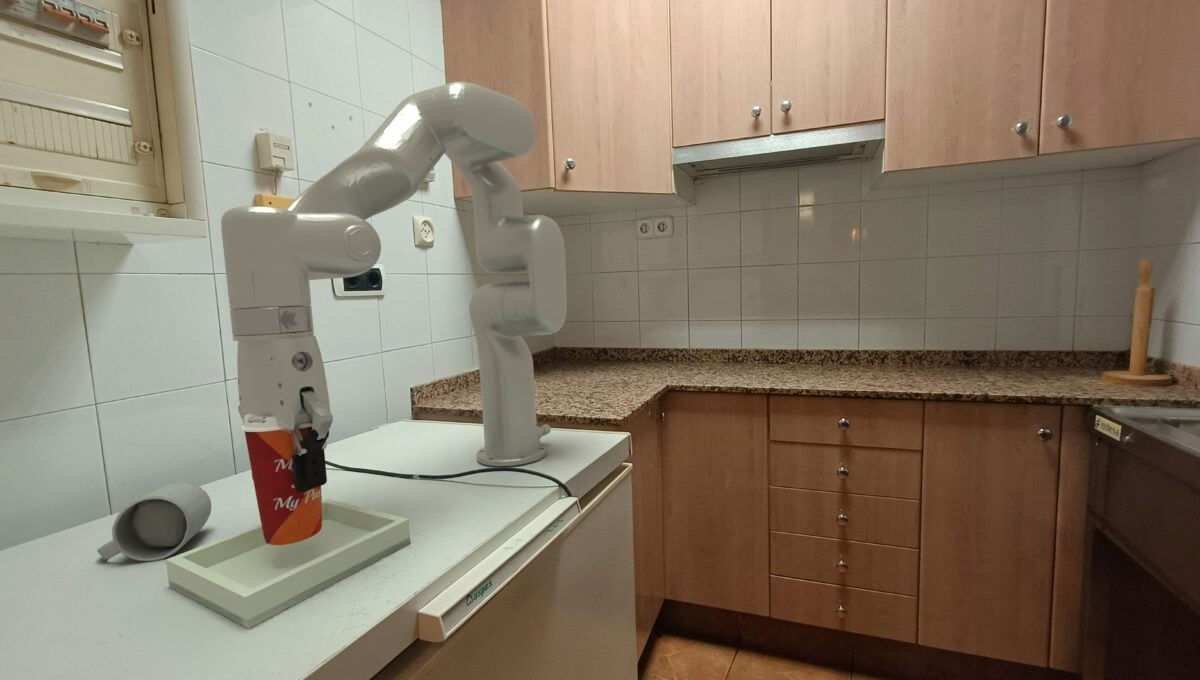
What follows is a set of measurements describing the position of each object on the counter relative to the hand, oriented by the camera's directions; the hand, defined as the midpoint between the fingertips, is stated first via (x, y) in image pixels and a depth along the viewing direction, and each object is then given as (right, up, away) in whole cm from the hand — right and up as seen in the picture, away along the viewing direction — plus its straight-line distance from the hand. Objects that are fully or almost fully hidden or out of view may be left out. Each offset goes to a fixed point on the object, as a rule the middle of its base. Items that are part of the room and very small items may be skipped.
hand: (289, 481), depth 58 cm
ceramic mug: (-20, -10, +6) cm, 23 cm away
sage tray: (+1, -9, +1) cm, 10 cm away
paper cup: (0, -6, +1) cm, 6 cm away
